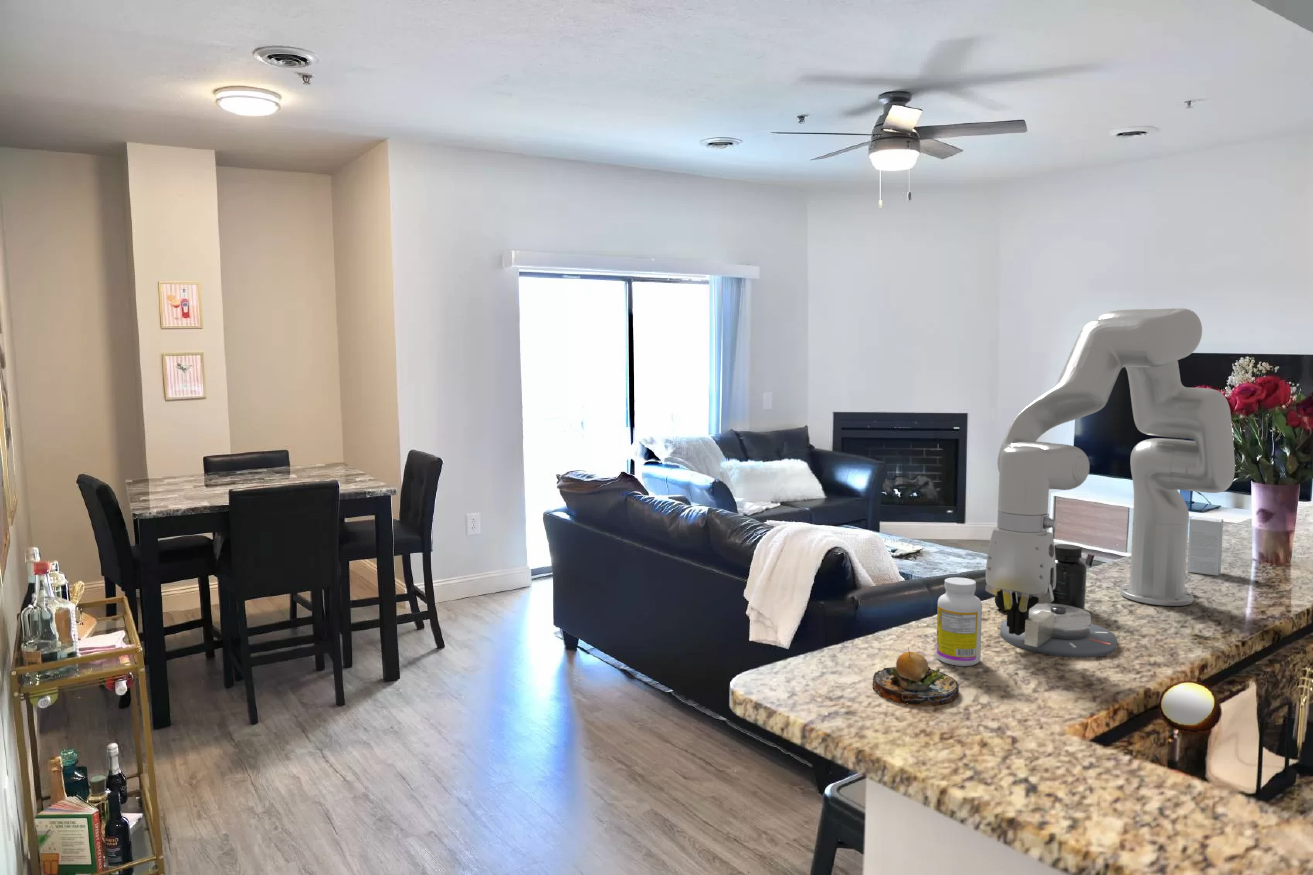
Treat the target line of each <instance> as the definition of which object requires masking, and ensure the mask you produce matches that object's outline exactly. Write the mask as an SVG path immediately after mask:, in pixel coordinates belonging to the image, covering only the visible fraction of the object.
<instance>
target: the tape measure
mask: <svg viewBox="0 0 1313 875" xmlns="http://www.w3.org/2000/svg"><path fill="white" fill-rule="evenodd" d="M1021 595H1022V593H1018V592H1017V599H1018V606H1019V605H1020V600H1021ZM994 603H995V606H996V607H997V608H998V609H999V610H1002V611H1005V612H1007V609H1006V608H1005V606H1004V603H1003V602H1002V601H1001V600H1000V598H999V597H998V596H995V595H994Z"/></svg>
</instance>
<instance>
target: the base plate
mask: <svg viewBox="0 0 1313 875" xmlns="http://www.w3.org/2000/svg"><path fill="white" fill-rule="evenodd" d="M999 626H1000V627H999V628H1000V629H999V635H1000V637H1001V639H1002V640H1004V641H1005V642H1007V643H1009V644H1011V645H1013V646H1015V647H1018V648H1020V649H1023V650H1025V651H1030V652H1035V653H1037V654H1043V655H1048V656H1056V657H1064V658H1076V659H1077V658H1082V659H1083V658H1085V659H1086V658H1099V657H1104V656H1107V655H1108V656H1109V655H1110V654H1113V653H1114V652H1116V650H1117V640H1118V638H1117V636H1116V634H1114V633H1113V631H1111V630H1108V629H1106V628H1105V627H1102V626H1100V625H1097V624H1093V623H1091V625H1090V635H1089V636H1087V637H1083V638H1075V639H1066V638H1055V637H1052V638H1050V639H1049V640H1047V641H1046V642H1044V643H1043V644H1041V645H1040V646H1038V647H1035V646H1030V645H1026V644H1024V643H1025V632H1024V633H1022V634H1021V635H1015V634H1009V627H1007V619H1005V620H1002V622H1001V623H1000V625H999Z"/></svg>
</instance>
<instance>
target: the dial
mask: <svg viewBox="0 0 1313 875" xmlns="http://www.w3.org/2000/svg"><path fill="white" fill-rule="evenodd" d="M1091 618H1092V615H1091V613H1090V612H1088V611H1087V610H1085V609H1084V610H1083V609H1080V608H1076V607H1072V606H1067V605H1061V604H1036V605H1035V606H1033V607H1032V608H1031V609H1029V618H1028V619H1026V620H1025V643H1024V644H1026V645H1030V646H1035V647H1038V646H1040V645H1041V644H1043V643H1044V642H1046V641H1047V640H1049V639H1050V638H1052V637H1055V638H1066V639H1075V638H1083V637H1087V636H1089V635H1090V625H1091V624H1092V623H1091V621H1092V619H1091Z"/></svg>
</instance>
